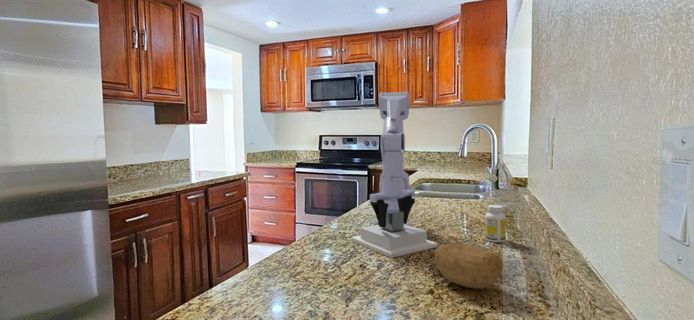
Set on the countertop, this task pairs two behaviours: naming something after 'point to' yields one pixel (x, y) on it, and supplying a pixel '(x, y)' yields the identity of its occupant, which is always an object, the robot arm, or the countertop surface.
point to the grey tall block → (394, 221)
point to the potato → (468, 265)
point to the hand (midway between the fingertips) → (392, 225)
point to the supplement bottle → (495, 224)
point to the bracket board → (396, 251)
